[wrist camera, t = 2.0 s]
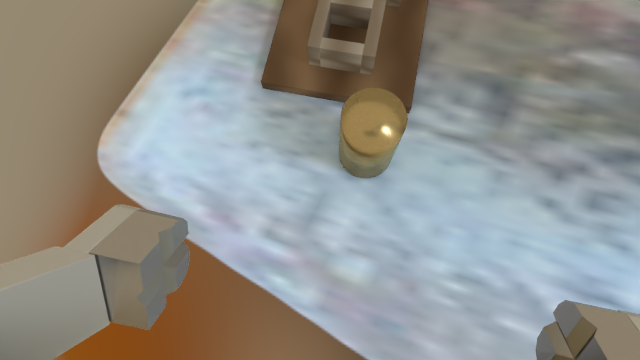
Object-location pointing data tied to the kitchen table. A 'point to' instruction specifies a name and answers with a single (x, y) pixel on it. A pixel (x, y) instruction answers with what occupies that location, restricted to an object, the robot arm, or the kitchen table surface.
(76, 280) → the robot arm
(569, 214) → the kitchen table surface
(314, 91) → the socket board
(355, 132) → the gold metal cylinder
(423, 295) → the kitchen table surface
